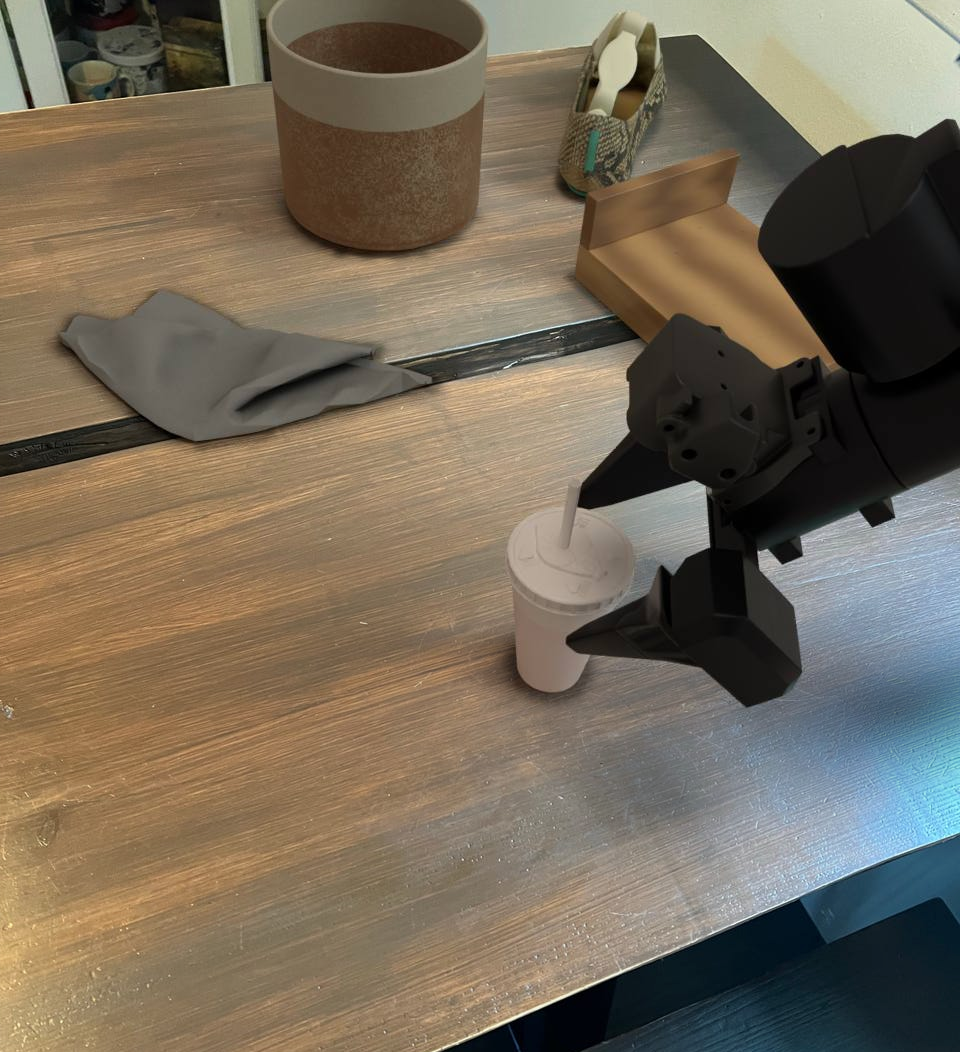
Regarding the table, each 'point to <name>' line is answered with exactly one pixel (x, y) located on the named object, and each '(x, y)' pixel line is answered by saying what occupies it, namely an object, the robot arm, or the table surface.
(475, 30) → the planter
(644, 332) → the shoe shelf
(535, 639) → the smoothie
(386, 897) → the table surface
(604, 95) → the ballet flat
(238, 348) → the cloth
